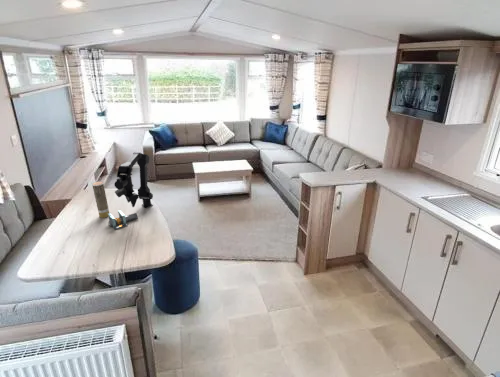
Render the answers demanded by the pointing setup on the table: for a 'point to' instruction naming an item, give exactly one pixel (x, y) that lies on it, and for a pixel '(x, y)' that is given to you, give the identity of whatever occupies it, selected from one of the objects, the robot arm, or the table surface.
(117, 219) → the tube
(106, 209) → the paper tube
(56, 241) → the table surface
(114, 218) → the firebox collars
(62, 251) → the table surface
